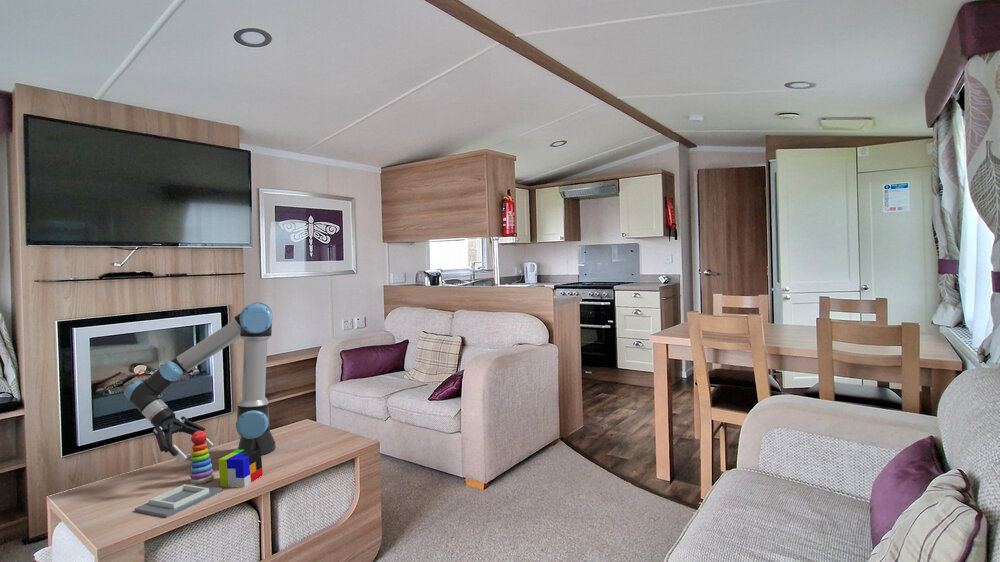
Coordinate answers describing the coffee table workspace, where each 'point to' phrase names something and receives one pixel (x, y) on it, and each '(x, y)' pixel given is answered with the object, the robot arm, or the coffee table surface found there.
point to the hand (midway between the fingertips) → (198, 453)
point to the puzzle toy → (240, 468)
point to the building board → (177, 500)
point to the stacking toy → (200, 460)
